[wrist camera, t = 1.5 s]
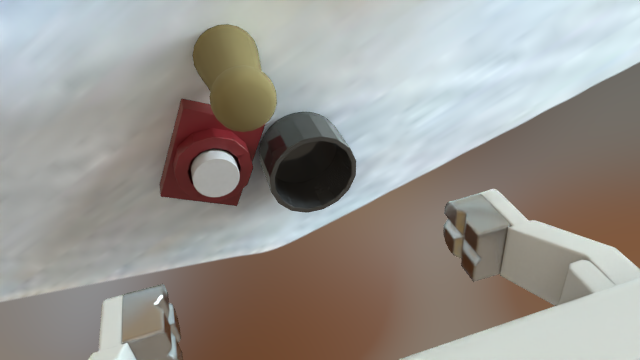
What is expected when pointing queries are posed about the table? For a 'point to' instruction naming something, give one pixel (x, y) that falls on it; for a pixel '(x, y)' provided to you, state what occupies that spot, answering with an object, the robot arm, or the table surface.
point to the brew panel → (197, 137)
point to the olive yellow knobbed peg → (234, 78)
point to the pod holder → (306, 162)
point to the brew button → (215, 173)
